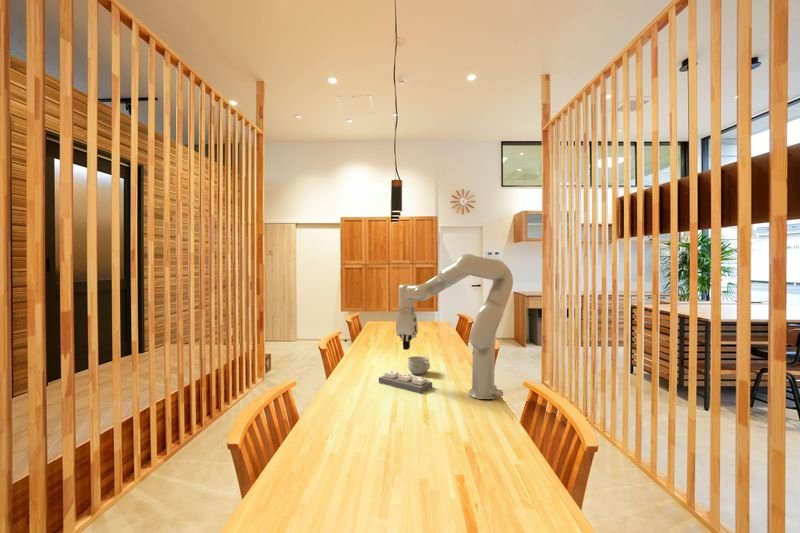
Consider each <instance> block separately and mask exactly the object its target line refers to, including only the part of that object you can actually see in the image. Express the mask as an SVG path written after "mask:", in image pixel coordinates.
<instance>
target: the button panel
mask: <svg viewBox="0 0 800 533" xmlns="http://www.w3.org/2000/svg"><path fill="white" fill-rule="evenodd" d="M413 378H414V377H412V379H413ZM412 379H411V380H409V381H407V382H404V381H400V380H398V376H397V377H395V378H393V379H392V378H388V377H385V374H384V375H382V376H380V377H378V383H379V384H381V385H382V384H383V385H385V386H388V387H389V386H390V387H394V388H397V389H401V390H406V391H409V392H412V393H417V394H420V395H421V394H422V393H424V392H426V391H428V390H430V389H432V388H433V381H428V380H426V383H424V384H423V385H417V384H414V383H412Z"/></svg>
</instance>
